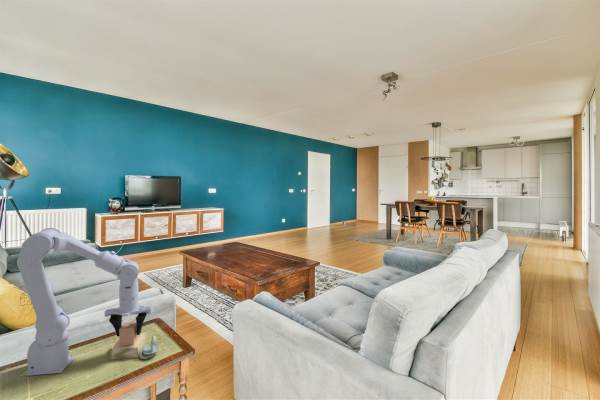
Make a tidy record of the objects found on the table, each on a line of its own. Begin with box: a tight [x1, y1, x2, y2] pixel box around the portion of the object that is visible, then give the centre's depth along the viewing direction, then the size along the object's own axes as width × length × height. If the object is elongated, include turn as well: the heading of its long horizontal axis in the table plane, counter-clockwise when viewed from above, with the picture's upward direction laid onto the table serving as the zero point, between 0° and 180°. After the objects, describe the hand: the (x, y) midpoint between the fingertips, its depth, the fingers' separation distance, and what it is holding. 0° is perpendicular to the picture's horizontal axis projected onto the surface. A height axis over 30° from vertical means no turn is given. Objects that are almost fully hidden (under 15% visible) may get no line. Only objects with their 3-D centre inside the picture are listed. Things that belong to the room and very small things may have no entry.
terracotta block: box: [118, 321, 139, 346], centre depth 99 cm, size 4×4×6 cm
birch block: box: [111, 334, 146, 360], centre depth 100 cm, size 8×8×4 cm
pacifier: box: [138, 335, 160, 360], centre depth 99 cm, size 7×6×6 cm
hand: (129, 334), depth 100 cm, fingers open, 6 cm apart
